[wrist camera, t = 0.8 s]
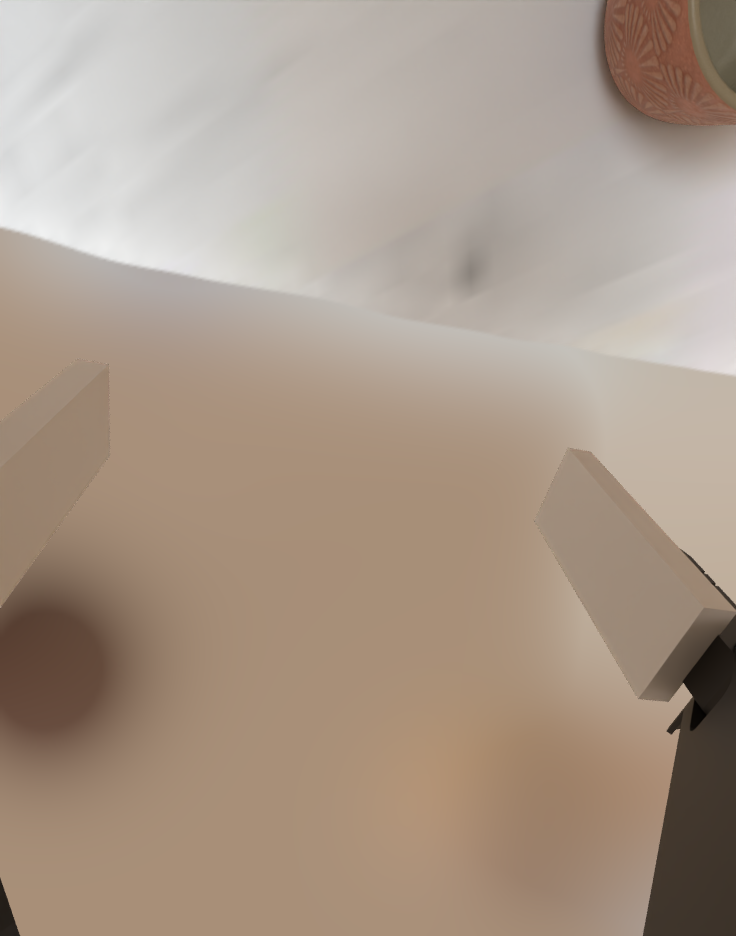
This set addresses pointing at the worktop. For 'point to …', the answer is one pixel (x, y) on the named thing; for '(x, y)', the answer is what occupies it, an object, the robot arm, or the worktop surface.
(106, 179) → the worktop surface
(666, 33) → the planter
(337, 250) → the worktop surface
